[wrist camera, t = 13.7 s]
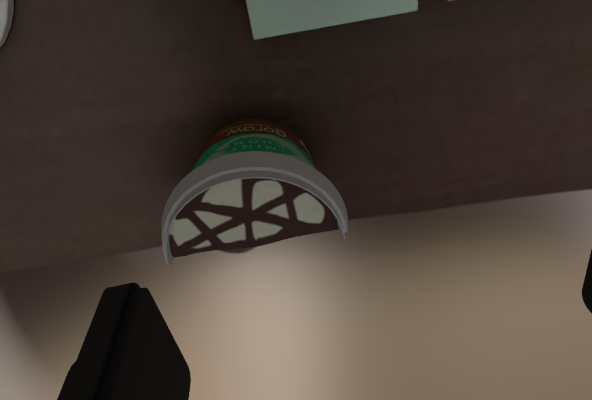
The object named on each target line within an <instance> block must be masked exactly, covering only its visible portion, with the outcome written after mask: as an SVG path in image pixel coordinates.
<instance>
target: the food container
mask: <svg viewBox="0 0 592 400" xmlns="http://www.w3.org/2000/svg"><path fill="white" fill-rule="evenodd" d="M338 229H340V231H341V234H342V236H343V238H344V239H345V235H344V232H348V216H347V211H346V207H345V205H344V203H343V200H342V198H341V196H340V194H339V193H338V191H337V190H336V188H335V187H334V185H333V184H332V183H331V182H330V181H329V180H328V179H327V178H326V177H325V176H324V175H323V174H322V173H320V172H319V171H318V170H317V167H316V165H315V163H314V161H313V159H312V156H311V154H310V152H309V151H308V149H307V147H306V146H305V144H304V143H303V141H302V139H301V138H300V137H299V136H298V135H296V134H295V133H294V132H293V131H292V130H290V129H289V128H288V127H287V126H285V125H282V124H280V123H277V122H275V121H272V120H270V119H263V118H243V119H239V120H235V121H233V122H230V123H228V124H226V125H224V126H222V127H221V128H219V129H218V130H217V131H215V132H214V133H213V134H212V135H211V136H210V137H209V139H208V140H207V141H206V143H205V144H204V146H203V148H202V150H201V152H200V154H199V157H198V159H197V161H196V163H195V166H194V168H193V170H192V171H191V172H190V173H189V174H188V175H187V176H186V177H184V178H183V179H182V180H181V181H180V182H179V184H178V185H177V186H176V187H175V189H174V190H173V191H172V193H171V195H170V197H169V199H168V200H167V202H166V205H165V208H164V212H163V215H162V226H161V230H162V245H163V253H164V256H165V260H166V262H167V265H168V268H170V267H171V264H172V261H173V259H174V257H179V256H187V255H189V254H193V253H199V252H205V251H212V250H220V249H237V248H249V247H257V246H261V245H265V244H270V243H273V242H277V241H280V240H284V239H288V238H292V237H296V236H302V235H308V234H313V233H319V232H325V231H332V230H338Z"/></svg>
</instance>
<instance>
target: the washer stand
mask: <svg viewBox="0 0 592 400" xmlns="http://www.w3.org/2000/svg"><path fill="white" fill-rule="evenodd" d="M246 5H247V10H248V15H249V20H250V24H251V29H252V34H253V39H254V40H256V39H262V38H268V37H273V36H279V35H284V34H290V33H295V32H301V31H307V30H312V29H318V28H323V27H329V26H334V25H340V24H346V23H351V22H357V21H362V20H368V19H373V18H379V17H385V16H390V15H396V14H401V13H407V12H412V11H417V10H418V0H246Z"/></svg>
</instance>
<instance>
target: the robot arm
mask: <svg viewBox="0 0 592 400" xmlns="http://www.w3.org/2000/svg"><path fill="white" fill-rule="evenodd" d="M13 11H14V2H13V0H0V48H1V46H2V45H3V44H4V42H5V40H6V38H7V35H8V33H9V31H10V28H11V24H12V18H13ZM582 297H583V301H584V303H585V305H586V307H587V308H588V309H589V311H590V312H591V313H592V250H591V254H590V259H589V263H588V267H587V271H586V276H585V280H584V284H583V288H582ZM190 381H191V379H190V371H189V367H188V365H187V363H186V361H185V359H184V357H183V355H182V353H181V351H180V349H179V347H178V345H177V344H176V342H175V340H174V338H173V336H172V334H171V332H170V330H169V328H168V326H167V324H166V322H165V320H164V319H163V316H162V315H161V313H160V311H159V309H158V307H157V305H156V303H155V301H154V299H153V297H152V296H151V294H150V292H149V290H148V289H147V288H140V287H139V285H138V284H136V283H129V284H124V285H119V286H114V287H109V288H107V289H105V290H104V292H103V294H102V297H101V299H100V302H99V304H98V307H97V309H96V312H95V314H94V317H93V319H92V322H91V325H90V327H89V330H88V332H87V335H86V337H85V340H84V343H83V345H82V348H81V350H80V353H79V355H78V358H77V360H76V362H75V363H74V364H73V365H72V366H71V368H70V370H69V372H68V374H67V376H66V379H65V381H64V384H63V387H62V389H61V391H60V394H59V397H58V399H57V400H188V398H189V391H190Z"/></svg>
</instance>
